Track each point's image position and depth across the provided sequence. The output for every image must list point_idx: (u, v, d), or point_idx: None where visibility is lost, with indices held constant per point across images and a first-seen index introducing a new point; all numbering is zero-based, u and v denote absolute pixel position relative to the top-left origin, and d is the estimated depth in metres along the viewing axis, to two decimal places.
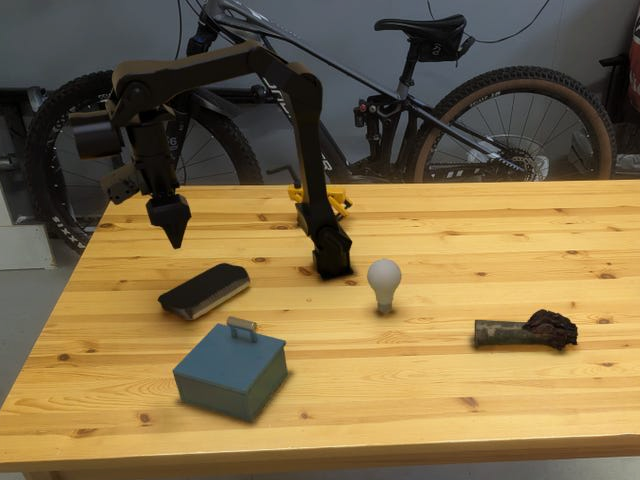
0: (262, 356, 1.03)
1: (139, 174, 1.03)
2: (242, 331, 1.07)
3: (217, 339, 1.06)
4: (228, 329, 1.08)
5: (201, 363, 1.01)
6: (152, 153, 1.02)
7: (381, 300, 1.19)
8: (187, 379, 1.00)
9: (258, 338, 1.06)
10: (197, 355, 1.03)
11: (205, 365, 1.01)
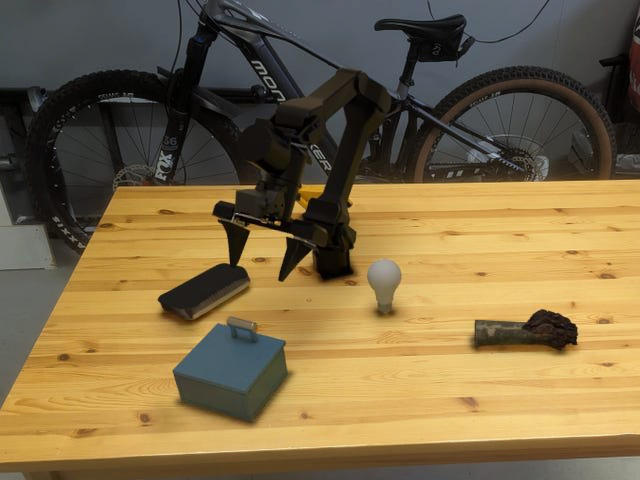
0: (262, 356, 1.03)
1: (282, 196, 1.04)
2: (242, 331, 1.07)
3: (217, 339, 1.06)
4: (228, 329, 1.08)
5: (201, 363, 1.01)
6: (297, 182, 1.06)
7: (381, 300, 1.19)
8: (187, 379, 1.00)
9: (258, 338, 1.06)
10: (197, 355, 1.03)
11: (205, 365, 1.01)
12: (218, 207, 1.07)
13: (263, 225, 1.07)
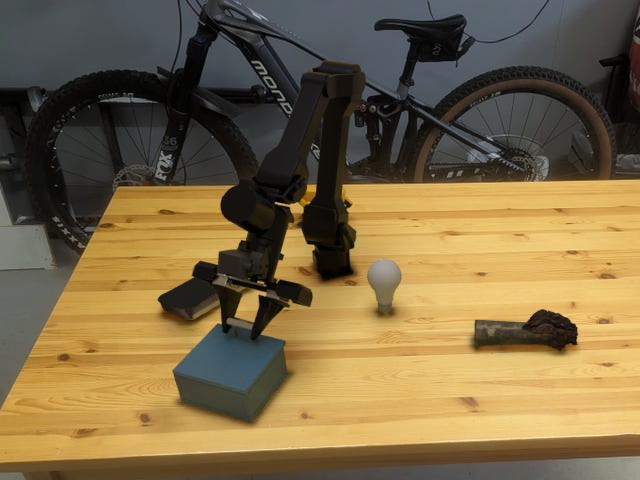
0: (262, 356, 1.03)
1: None
2: (242, 331, 1.07)
3: (217, 339, 1.06)
4: None
5: (201, 363, 1.01)
6: (281, 242, 1.04)
7: (381, 300, 1.19)
8: (187, 379, 1.00)
9: (258, 338, 1.06)
10: (197, 355, 1.03)
11: (205, 365, 1.01)
12: (198, 268, 1.03)
13: (245, 285, 1.04)
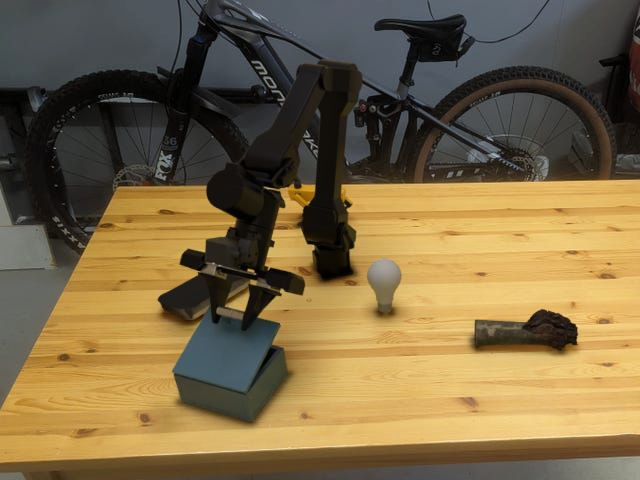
0: (258, 345, 1.01)
1: None
2: None
3: (211, 327, 1.03)
4: None
5: (199, 360, 1.00)
6: (271, 228, 1.00)
7: (381, 300, 1.19)
8: (187, 379, 1.00)
9: None
10: (194, 349, 1.01)
11: (203, 362, 1.00)
12: (186, 256, 1.00)
13: (235, 274, 1.00)
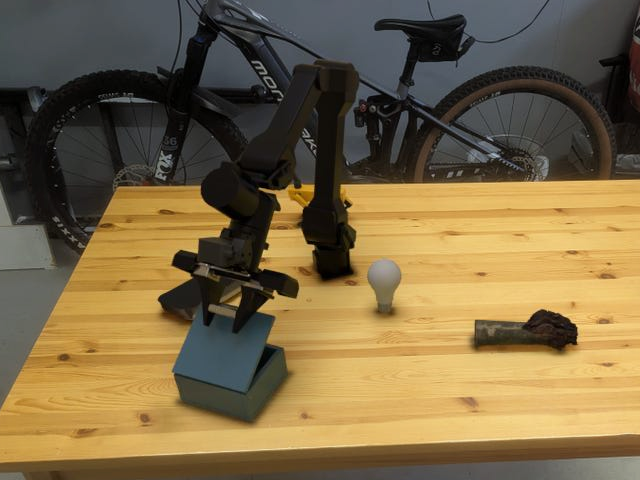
0: (254, 341, 0.99)
1: None
2: None
3: None
4: None
5: (197, 359, 1.00)
6: (266, 230, 0.99)
7: (381, 300, 1.19)
8: (187, 379, 1.00)
9: None
10: (191, 348, 1.01)
11: (201, 361, 1.00)
12: (178, 257, 0.98)
13: (228, 276, 0.99)
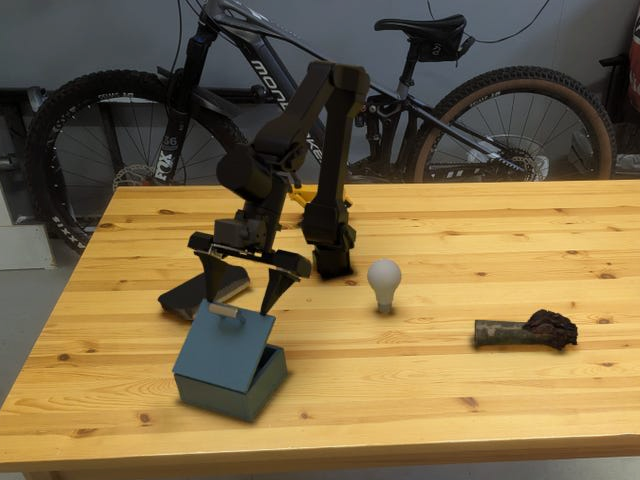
0: (254, 341, 0.99)
1: None
2: None
3: (207, 322, 1.02)
4: None
5: (197, 359, 1.00)
6: (279, 211, 1.01)
7: (381, 300, 1.19)
8: (187, 379, 1.00)
9: (247, 316, 1.01)
10: (191, 348, 1.01)
11: (201, 361, 1.00)
12: (194, 238, 1.01)
13: (242, 256, 1.01)
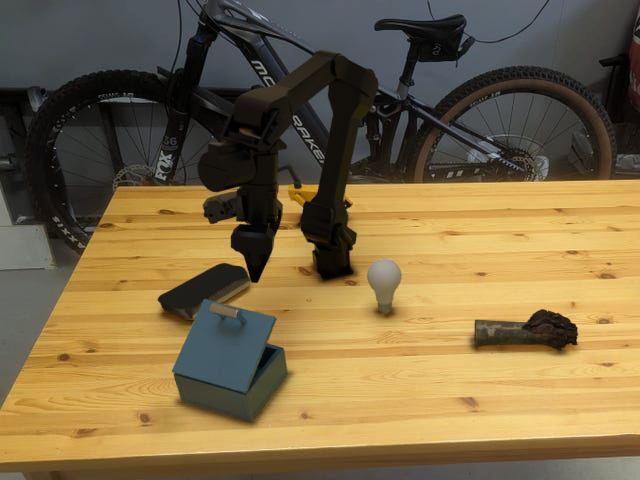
0: (255, 342, 0.99)
1: (239, 199, 1.03)
2: None
3: (207, 323, 1.02)
4: None
5: (197, 359, 1.00)
6: (273, 181, 1.03)
7: (381, 300, 1.19)
8: (187, 379, 1.00)
9: (247, 316, 1.01)
10: (191, 348, 1.01)
11: (201, 361, 1.00)
12: None
13: None
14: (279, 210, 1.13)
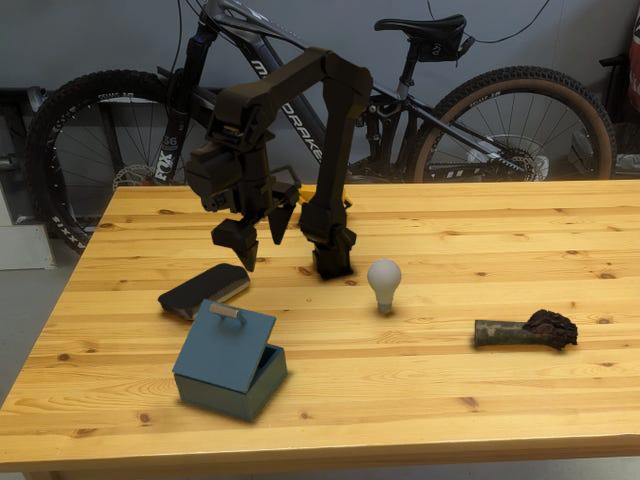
0: (255, 342, 0.99)
1: (230, 192, 1.05)
2: None
3: (207, 323, 1.02)
4: None
5: (197, 359, 1.00)
6: (263, 175, 1.03)
7: (381, 300, 1.19)
8: (187, 379, 1.00)
9: (247, 316, 1.01)
10: (191, 348, 1.01)
11: (201, 361, 1.00)
12: None
13: None
14: (288, 198, 1.12)
